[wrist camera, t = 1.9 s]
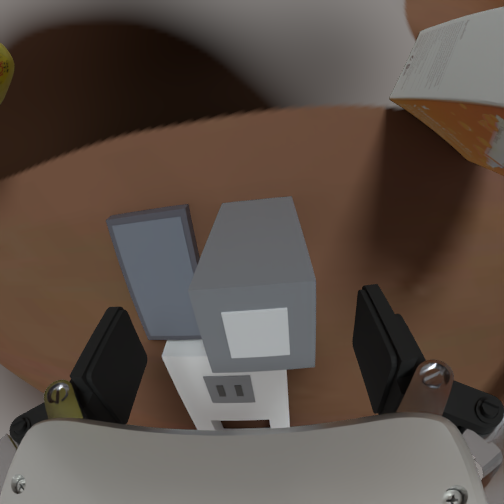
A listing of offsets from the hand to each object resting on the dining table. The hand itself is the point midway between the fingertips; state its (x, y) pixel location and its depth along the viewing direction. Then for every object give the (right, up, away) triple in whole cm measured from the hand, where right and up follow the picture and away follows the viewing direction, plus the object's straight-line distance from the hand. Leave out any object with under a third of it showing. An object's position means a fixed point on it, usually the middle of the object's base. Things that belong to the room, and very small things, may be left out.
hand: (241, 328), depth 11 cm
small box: (+14, +14, +4) cm, 20 cm away
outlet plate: (-1, -12, +17) cm, 21 cm away
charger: (+1, +4, +9) cm, 10 cm away
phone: (-6, +1, +11) cm, 12 cm away
